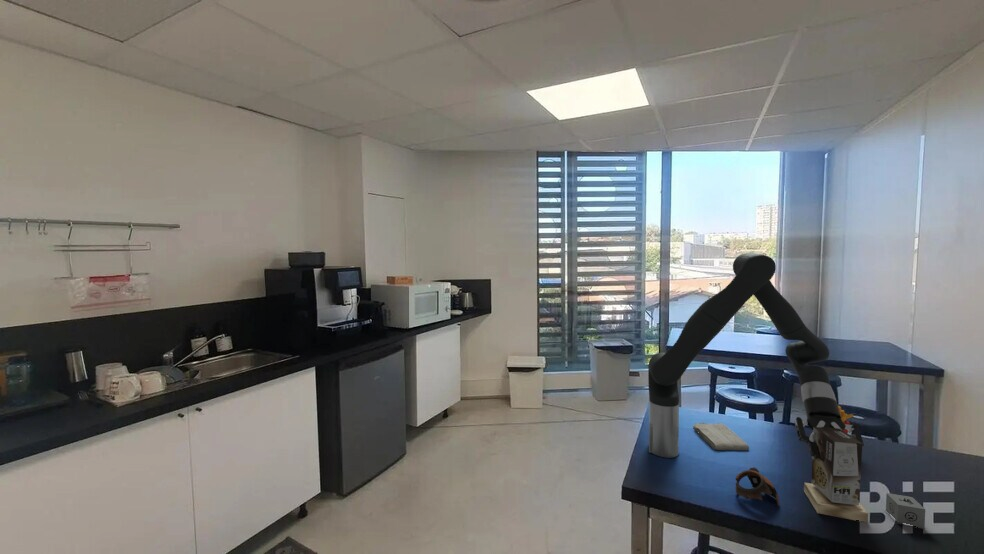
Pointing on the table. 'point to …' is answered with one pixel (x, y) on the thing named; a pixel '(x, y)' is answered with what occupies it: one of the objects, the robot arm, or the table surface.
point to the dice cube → (905, 510)
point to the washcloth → (720, 437)
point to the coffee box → (837, 465)
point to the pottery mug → (755, 485)
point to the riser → (834, 505)
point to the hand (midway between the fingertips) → (835, 460)
